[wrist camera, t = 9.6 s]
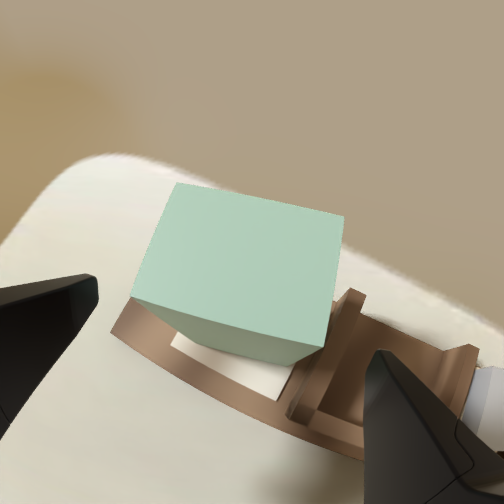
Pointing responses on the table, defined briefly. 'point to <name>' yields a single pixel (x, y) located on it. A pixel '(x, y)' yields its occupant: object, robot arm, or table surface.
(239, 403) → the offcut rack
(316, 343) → the mint green block
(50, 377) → the table surface
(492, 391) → the grey offcut slab
